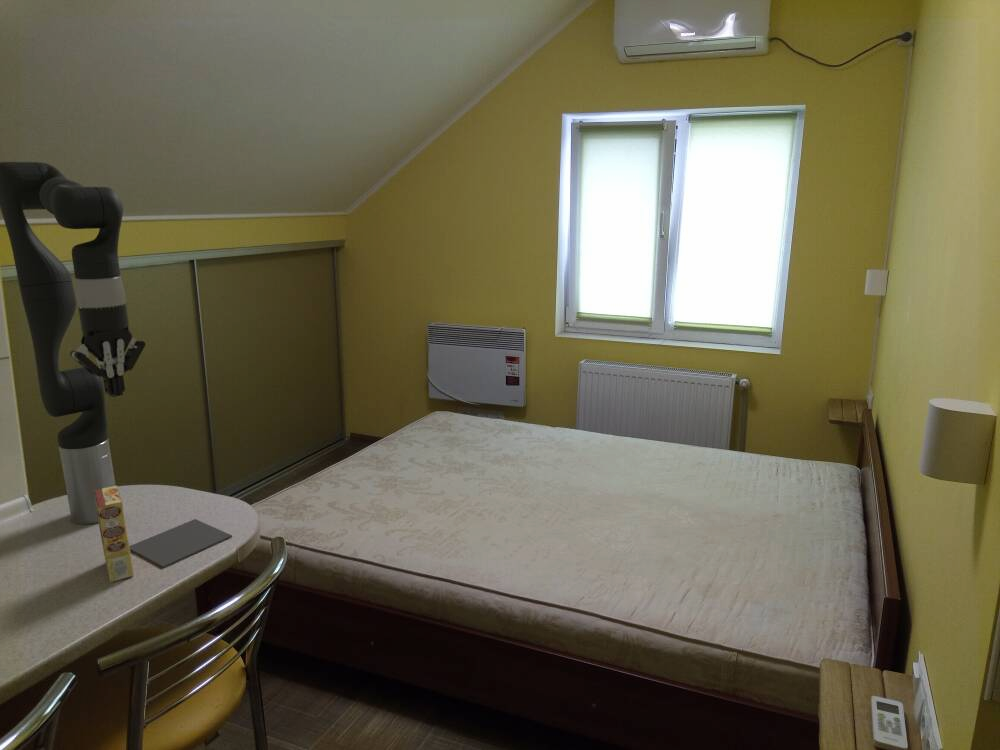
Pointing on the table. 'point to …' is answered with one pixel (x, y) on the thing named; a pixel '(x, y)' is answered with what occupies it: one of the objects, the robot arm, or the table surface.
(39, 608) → the table surface
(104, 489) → the candy box
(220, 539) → the mat
